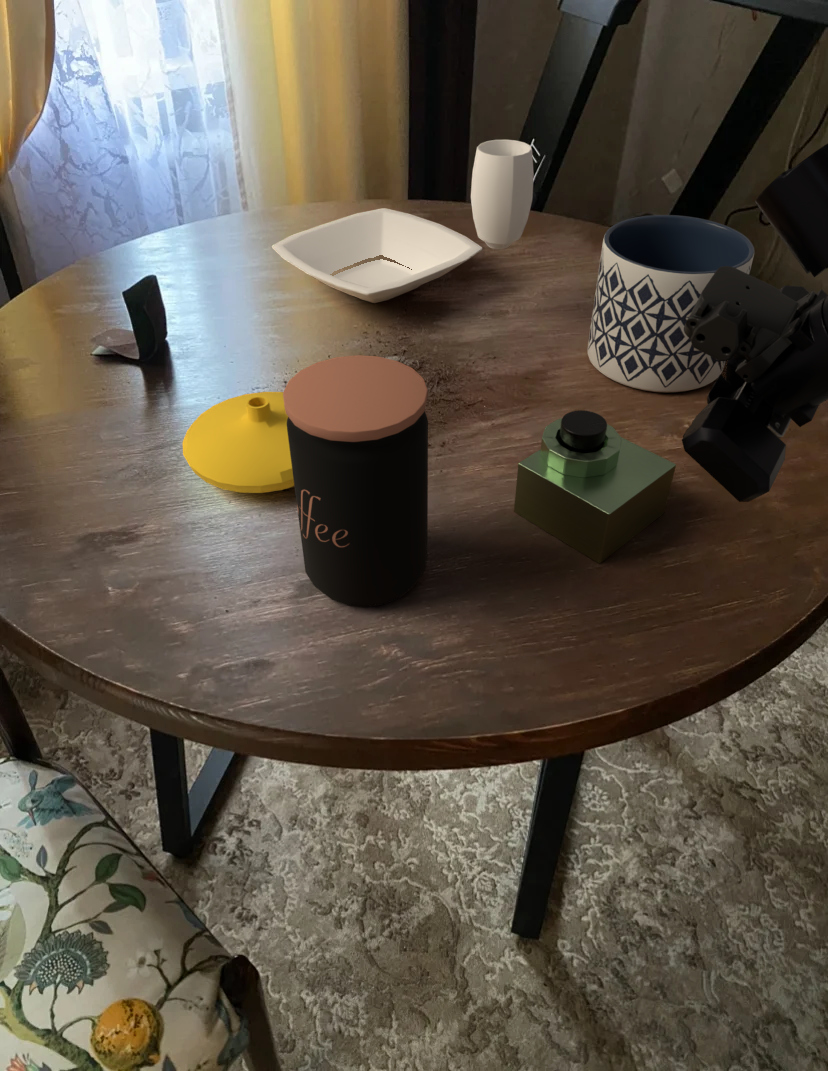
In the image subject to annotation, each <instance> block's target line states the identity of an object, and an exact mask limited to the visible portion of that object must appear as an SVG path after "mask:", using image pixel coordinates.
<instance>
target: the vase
mask: <svg viewBox="0 0 828 1071" xmlns="http://www.w3.org/2000/svg"><path fill="white" fill-rule="evenodd" d="M283 392H284V391H259V392H252V393H245V394H242V395H237V396H233V397H231V398H227V399H225V400H223V401H221V402H219V403H216V404H214V405H212V406H211V407H209V408H208V409H206V410H204V411H203V412H202V413H201V414H200V415H198V416H197V417H196V419H195V420H194V421H193V422H192V423H191V424H190V426H189V428H188V429H187V430H186V432H185V435H184V438H183V440H182V442H181V443H182V445H181V446H182V455H183V457H184V459H185V460H186V462H187V464H188V465H189V468H190V469H191V470H192V472H193V473H194V474H195V475H196V476H197V477H199V479H201V480H202V481H204V482H205V483H206V484H209V485H211V486H214V487H216V488H218V489H220V490H225V491H230V492H235V493H242V494H263V493H271V492H277V491H284V490H287V489H290V488H294V479H293V471H292V463H291V456H290V448H289V440H288V432H287V419H288V416H287V414H286V411H285V407H284V399H283Z"/></svg>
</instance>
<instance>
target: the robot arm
mask: <svg viewBox="0 0 828 1071" xmlns="http://www.w3.org/2000/svg"><path fill="white" fill-rule="evenodd" d="M754 203H755V205H756V206H757V207H758V208H759V210H760V211H761V213H762V215H764V217H765V218H766V220H767V221H768V222H769V224H770V226H771V227H772V228H773V230H774V231H775V232H776V233H777V235H778V236H779V237H780V239H781V240H782V242H783V243H784V244H785V246H786V247H787V248H788V250H789V251H790V252H791V254H792V255H793V257H794V259H795V260H796V261H797V262H798V264H799V265H800V267H801V268H802V269H803V271H804V272H805V273H806V275H807V274H809V273H810V274H811V276H813V278H816V277H817V276H819V275H821V274H822V273H823V272H824V271H826V270H828V142H827V143H825V144H824V145H823V146H821V147H820V148H818V149H817V150H815V151H814V152H813V153H811V154H810V155H808V156H807V157H806V158H804V159H803V160H802V161H800V162H799V163H798V164H797V165H795V166H793V167H791V168H789V169H787V170H785V171H783V172H782V173H780V174H779V175H778V176H777V177H776V178H774V179H773V181H771V182H770V183H769V184H768V185H767V186H766V187H765V188H764V189H763V190H762V191H761V193H759V195H758V196H757V198H756V199H755V201H754ZM684 332H685V334H686V335H687V337H689V338H690V339H691V343H692V345H693V347H694V348H695V349H697V350H699V351H701V352H703V353H705V354H707V355H709V356H711V357H713V358H715V359H717V360H719V361H726V363H725V377H724V376H723V375H722V374H720V375H719V377H718V378H717V379H715V382H714V383H713V385H712V387H711V389H710V390H709V392H708V393H707V396H706V405H705V407H704V408H703V409H701V411H700V412H699V413H697V415H696V416H694V419H693V421H692V422H691V424H690V425H689V426H688V427H687V429H685V431H684V433H683V435H682V438H681V443H682V447H683V450H684V452H685V453H686V454H688V456H689V457H691V458H692V459H693V460H694V461H695V462H696V463H697V464H698V465H699V466H700V467H701V468H702V469H704V470H705V471H706V472H707V473H708V474H709V475H710V476H711V477H712V478H713V479H714V480H715V481H717V483H718V484H720V485H721V486H722V487H723V488H724V489H725V490H726V491H727V492H728V493H729V494H730V495H731V496H732V497H734V498H735V499H736V500H737V501H738V502H739V503H749V502H751V501H753V500H755V499H757V498H759V497H761V496H763V495H765V494H768V493H769V492H771V489H772V487H773V485H774V483H775V480H776V479H777V476H778V474H779V472H780V470H781V468H782V466H783V464H784V462H785V460H786V447H787V444H786V443H785V442H784V441H783V440H782V439H781V438H783V437H784V435H785V434H786V432H787V430H788V428H789V426H790V423H791V421H793V422H794V424H796V425H797V426H798V427H799V428H801V427H804V426H805V425H807V424H808V423H810V422H812V421H813V419H814V417H815V414H816V413H817V410H818V408H819V406H820V405H821V404H822V403H824V402H826V401H827V400H828V293H827V292H825V291H824V290H823V289H820V290H818V291H817V292H816V291H814V290H812V291H809V290H807V289H806V288H805V287H804V286H797V285H783V286H782V287H781V288H779V289H778V287H776V286H774V285H771V284H770V283H767V282H766V281H763V280H762V279H759V278H758V277H755V276H754V275H751V274H750V273H749V274H747V273H745V272H742V271H740V270H738V269H736V268H734V267H730V266H722V267H719V268H718V269H717V270H716V272H715V273H714V275H713V276H712V278H711V279H710V281H709V282H708V284H707V285H706V287H705V288H704V289H703V291H702V293H701V295H700V297H699V299H698V301H697V302H696V304H695V306H694V308H693V310H692V312H691V314H690V316H689V318H688V319H687V321H686V324H685V326H684Z"/></svg>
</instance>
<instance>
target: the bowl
mask: <svg viewBox="0 0 828 1071" xmlns="http://www.w3.org/2000/svg"><path fill="white" fill-rule="evenodd" d="M271 247H272V249H273V250H274V251H275V252H276V253H277V254H278V255H279V257H281V258H282V259H283V260H284V261H286V262H288V263H289V264H291V265H292V266H293V267H296V268H297V269H299V270H300V271H302V272H303V273H305V274H307V275H308V276H310V277H312V278H314V279H315V280H317V281H318V282H321V283H322V284H324V285H326V286H327V287H330V288H332V289H335V290H338V291H339V292H342V293H344V294H347V295H349V296H352V297H355V298H357V299H360V300H362V301H366V302H369V303H372V304H376V303H381V302H386V301H389V300H392V299H395V298H396V297H399V296H401V295H403V294H407V293H409V292H411V291H414V290H416V289H418V288H420V287H421V286H422V285H424V284H427V283H429V282H432V281H434V280H437V279H438V278H441V277H442V276H444V275H446V274H448V273H449V272H451V271H453V270H454V269H456V268H457V267H459V266H461V265H462V264H464V263H465V262H467V261H468V260H470V259H472V258H473V257H474V256H475V255H478V253H480V252H481V251H483V247H482V246H481V245H479V244H478V243H476V242H475V241H473V240H472V239H470V238H469V237H467V236H466V235H464V234H461V233H459V232H457V231H456V230H453V229H451V228H450V227H447V226H445V225H443V224H442V223H441V224H440V223H438V222H435V221H432V220H429V219H426V218H423V217H421V216H417V215H414V214H411V213H407V212H404V211H399V210H394V209H390V208H386V207H382V208H377V209H372V210H367V211H361V212H357V213H354V214H351V215H348V216H347V215H346V216H344V217H340V218H338V219H335V220H332V221H329V222H326V223H322V224H320V225H316V226H314V227H310V228H308V229H305V230H302V231H299V232H297V233H293V234H291V235H289V236H287V237H285V238H283V239H282V240H279V241H277V242H276V243H274V244H273V245H271ZM379 255H383V256H384V257H387V258H390V259H392V260H395V261H396V262H398V263H400V264H402V265H404V266H402V265H399V264H397V263H394V262H390V261H387V260H383V259H380V260H375V261H371V262H367V263H364V264H361V265H359V266H356V267H353V268H351V269H348V270H345V271H343V272H340V273H338V274H336V275H334V276H332V275H330V274H332V273H333V272H334V271H337V270H339V269H342V268H344V267H347V266H350V265H353V264H354V263H357V262H360V261H362V260H365V259H368V258H374V257H376V256H379ZM405 266H406V267H405ZM407 267H409V268H410V269H409V268H407ZM411 269H412V270H411Z"/></svg>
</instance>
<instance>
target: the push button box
mask: <svg viewBox="0 0 828 1071" xmlns="http://www.w3.org/2000/svg"><path fill="white" fill-rule="evenodd" d="M562 418H563V417H561V418H557V419H555V420H554V421H553V422H551V423H549V424H547V425H546V426H545V427H544V429H543V433H542V436H541V443H540V449H538V450H537V451H535V452H534V453H532V454H531V455H529V456H527V457H526V458H524V459H523V460H521V461H520V462H518V464H517V474H516V485H515V494H514V495H515V496H514V506H513V512H514V513H515V514H516V515H518V516H520V517H522V518H523V519H525V520H527V521H528V522H530V523H531V524H534V525H535V526H537V527H539V528H540V529H541V530H543V531H545V532H546V533H548V534H550V535H551V536H553V537H555V538H556V539H558V540H560V541H562V542H563V543H565V544H566V545H568V546H570V547H571V548H573V549H574V550H576V551H578V552H580V553H581V554H583V555H585V556H586V557H588V558H589V559H590V560H593V561H594V562H596V563H597V564H599V565H600V564H601V563H604V561H606V560H607V559H608V558H610V556H612V555H613V554H614V553H616V552H617V551H618V550H619V549H621V548H622V547H623V546H624V545H626V544H627V543H629V542H630V541H631V540H632V539H633V538H634V537H636V536H637V535H638V534H640V533H641V532H643V531H644V530H645V529H647V527H649V526H650V525H651V524H652V523H653V522H656V520H658V519H659V518H660V517H661V516H663V515H664V514H665V512H666V509H667V504H668V499H669V496H670V493H671V487H672V485H673V484H672V483H673V479H674V476H675V472H676V467H677V464H676V463H674V462H673V461H670V460H668V459H667V458H664V457H662V456H661V455H658V454H657V453H654V452H652V451H650V450H649V449H646V448H644V447H642V446H641V445H639V444H636V443H634V442H632V441H630V440H628V439H626V438H624V437H622V436H621V435H620V434H619V433H618V431H617V430H616V428H615V427H613V426H612V425H610V424H608V423H607V430H606V435H605V441H604V446H603V447H602V448H601V449H600V450H599V451H597V452H592V453H579V452H573V451H570V450H568V449H566V448H564V447H563V446H562V445H561V444H560V442H559V435H560V427H561V420H562Z"/></svg>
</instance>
